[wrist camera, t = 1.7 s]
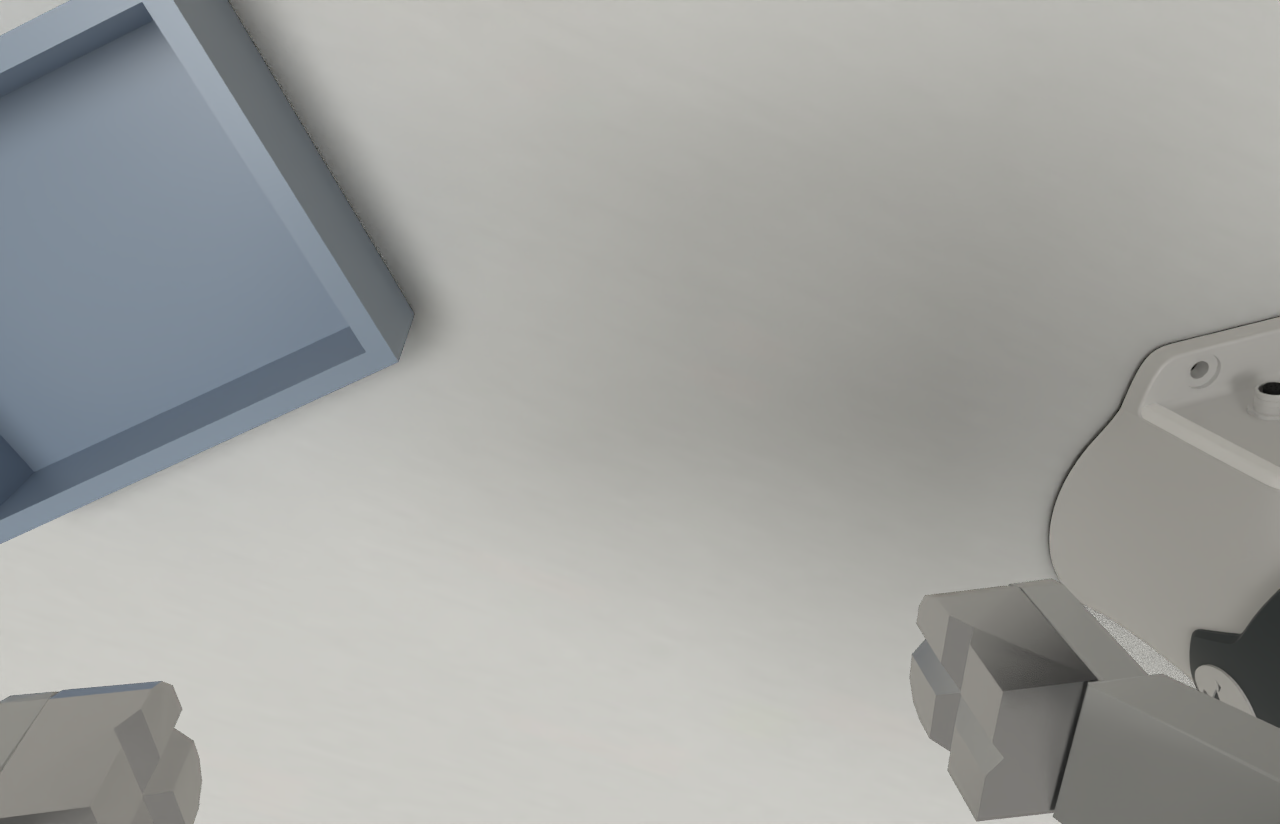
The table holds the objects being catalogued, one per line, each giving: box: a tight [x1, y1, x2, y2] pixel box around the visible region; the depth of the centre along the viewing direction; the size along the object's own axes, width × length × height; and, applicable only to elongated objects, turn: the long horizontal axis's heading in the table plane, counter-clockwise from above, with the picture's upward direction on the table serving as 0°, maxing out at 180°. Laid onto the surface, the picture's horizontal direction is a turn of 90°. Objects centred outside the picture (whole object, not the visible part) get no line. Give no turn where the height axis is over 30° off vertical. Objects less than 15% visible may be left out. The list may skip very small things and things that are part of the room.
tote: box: [0, 0, 414, 544], centre depth 30 cm, size 18×14×5 cm
